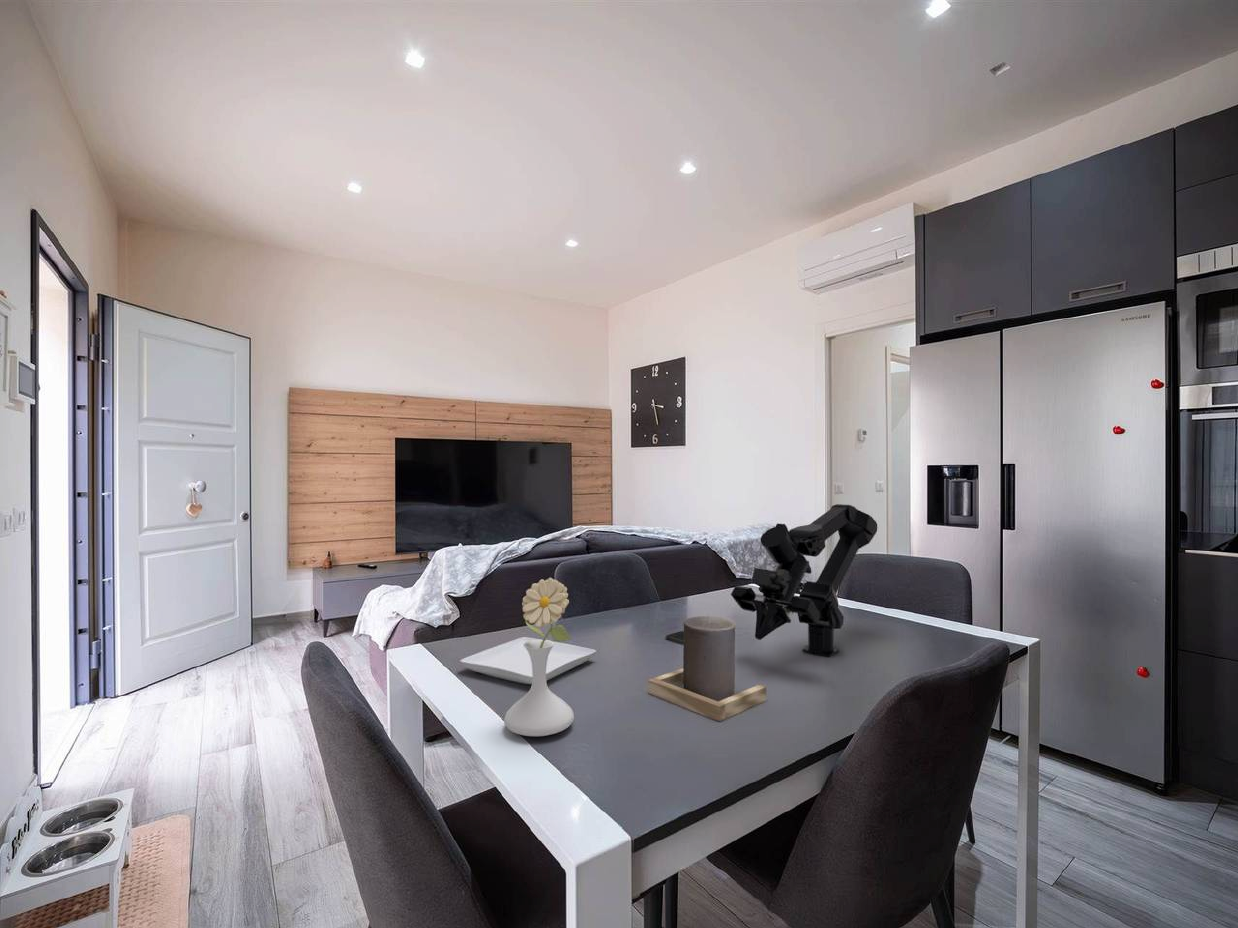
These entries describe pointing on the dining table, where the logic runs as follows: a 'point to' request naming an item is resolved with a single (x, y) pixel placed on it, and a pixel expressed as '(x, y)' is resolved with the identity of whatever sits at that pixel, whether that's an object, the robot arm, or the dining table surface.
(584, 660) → the salad plate
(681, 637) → the phone
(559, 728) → the flower in vase
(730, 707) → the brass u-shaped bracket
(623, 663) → the dining table surface
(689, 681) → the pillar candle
